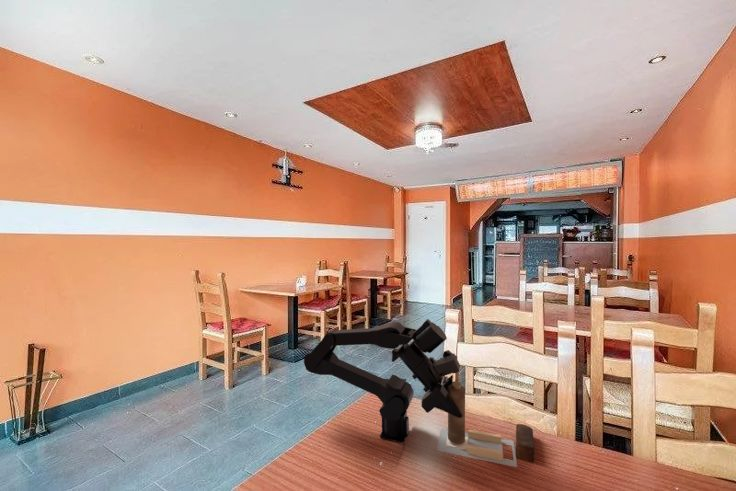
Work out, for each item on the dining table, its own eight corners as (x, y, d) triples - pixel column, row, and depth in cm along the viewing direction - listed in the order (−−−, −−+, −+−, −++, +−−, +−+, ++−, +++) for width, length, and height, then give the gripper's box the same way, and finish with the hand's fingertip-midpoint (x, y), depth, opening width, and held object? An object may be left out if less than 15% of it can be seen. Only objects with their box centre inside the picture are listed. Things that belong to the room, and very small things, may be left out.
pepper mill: (447, 441, 80) (447, 385, 80) (448, 432, 84) (448, 378, 84) (464, 445, 79) (464, 388, 79) (465, 435, 83) (465, 381, 83)
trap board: (436, 455, 78) (436, 443, 78) (441, 432, 88) (441, 422, 88) (517, 472, 72) (517, 460, 72) (513, 445, 82) (513, 434, 82)
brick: (534, 468, 74) (534, 448, 74) (515, 463, 75) (515, 443, 75) (532, 442, 83) (532, 424, 83) (516, 438, 85) (515, 420, 85)
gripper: (435, 356, 74) (486, 412, 70) (445, 334, 91) (486, 378, 88) (402, 385, 77) (449, 440, 73) (417, 358, 94) (456, 402, 91)
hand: (462, 412), depth 81 cm, fingers closed on pepper mill, 4 cm apart
